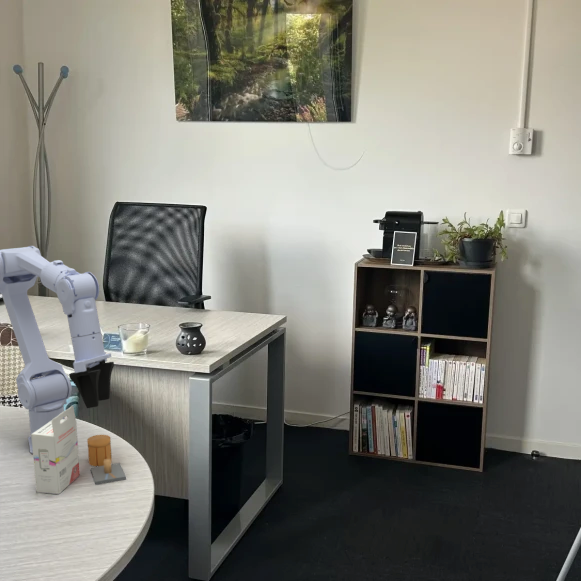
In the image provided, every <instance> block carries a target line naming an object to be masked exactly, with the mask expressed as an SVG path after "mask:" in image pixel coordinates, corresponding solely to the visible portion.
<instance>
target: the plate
mask: <svg viewBox="0 0 581 581" xmlns="http://www.w3.org/2000/svg"><path fill="white" fill-rule="evenodd" d="M111 459H112V458H111ZM111 459H104V465H103V466H97V467H96V466H92V467H90V473H91V475H92V478H93V482H94V484H95V485H102V484H107V483H114V482H119V481H124V480H125V481H126V480H127V476H126V474H125V471H124V469H123V466H122V465H121V463H120V462H116V463H112V461H111Z"/></svg>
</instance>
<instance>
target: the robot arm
mask: <svg viewBox="0 0 581 581" xmlns="http://www.w3.org/2000/svg"><path fill="white" fill-rule="evenodd" d="M38 278H39V279H40V283H41V285H43V286H44V287H46V288H47V289H49V290H50V291H52V292H53V293H55V294H56V296H57V299H58V301H59V302H60V304H61V306H62V312H63V313H64V315H66V317H67V322H68V329H69V333H70V337H71V338H70V339H71V344H72V350H73V356H74V361H73V362H72V366H73V370H74V371H73V372H71V373H69V374H68V375H67V373H66V372H65V370H64V367H63V365H62V364H61V363H59V362H56V361H54V360H52V359H50V357H49V356H48V353H47V349H46V346H45V344H44V340H43V338H42V335H41V331H40V329H39V325H38V322H37V319H36V316H35V313H34V310H33V307H32V305H31V304H32V303H31V301H30V299H29V296H28V290H29V289H31V288H33V287H34V286H35V284H36V281H37V279H38ZM0 294H1V296H2V300H3V303H4V305H5V309H6V312H7V314H8V318H9V321H10V324H11V327H12V330H13V333H14V336H15V339H16V342H17V344H18V345H17V346H18V348H19V352H20V354H21V357H22V360H23V363H24V367H23V368H22V370H21V371H20V373H18V375H17V376H16V380H15V382H16V386H17V395H18V399H19V402H20V404H21V405H22V406H23V408H25V409H26V410H28V416H29V417H28V419H29V431H30V432H29V433H30V434H29V436H28V437H27V440H28V441H27V442H28V446H29V453H30V454H32V455H33V448H32V437H31V434H32V433H34V432H35V431H37V430H38V429H40V428H41V427H43V426H44V425H46V424H47V423H49V422H50V421H51V420H52V419H54V418H55V417H57V416H58V415H59V414H61V413H62V412H64V411H65V407H64V405H67V402H68V400H69V398H70V397H71V394H72V391H73V390H72V389H73V388H72V383H73V384H74V385H75V387H76V388H77V390H78V391H79V394H80V396H81V398H82V400H83V404H84V405H85V407H86V409H92V408H96V407H99V402H100V401H106V400H110V396H111V380H112V379H111V378H112V373H113V369H114V366H115V363H114V362H115V361H109V362H108V359H109V358H111V357H112V353H107V352H105V347H104V342H103V336H102V331H101V326H100V325H101V324H100V318H99V313H98V308H97V302H96V300H97V299H98V298H99V295H100V285H99V281H98V279H97V277H96V275H94V274H93V273H92V272H91V271H86V272H83V273H80V272H78V271H76V269H74V267H73V268H71V267H69V266H68V265H66V264H64V261H62V260H61V259H60V260H59V259H57V260H53V261H48V260H47V259H46V258H45V257H44V256H42V254H41V251H40V249H39V248H38V247H36V246H35V245H28V246H24V247H15V248H14V247H13V248H3V249H0ZM71 381H72V382H71ZM62 419H65V417H64V416H63V418H62Z"/></svg>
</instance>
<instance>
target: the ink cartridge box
mask: <svg viewBox="0 0 581 581" xmlns="http://www.w3.org/2000/svg"><path fill="white" fill-rule="evenodd" d="M74 407H75V406H73V405H71V406H70V407H69V408H67V409H64V412H62V413H61V414H59V415H58V416H57V417H55V418H54V419H52V420H51V421H50V422H49V423H47V424H46V425H44V426H43V427H41V428H40V429H38V430H37V431H35V432H34V433H32V434H30V436H31V437H32V448H33V454H32V458H33V467H34V468H33V470H34V478H35V480H34V481H35V489H36V490H35V492H36V493H43V494H51V495H52V494H53V495H59V494H61V493H62V492H63V491H64V490H66V488H68V486H70V485H71V484H72V483H73V482H74V481H75V480H76V479H77V478H78V477H79V476H80V459H79V458H80V456H79V445H78V428H77V419H76V415H75V414H76V413H75V408H74ZM63 416H64V419H62V418H63ZM66 417H67V418H66ZM65 418H66V419H65Z"/></svg>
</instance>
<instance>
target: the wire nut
mask: <svg viewBox="0 0 581 581" xmlns="http://www.w3.org/2000/svg"><path fill="white" fill-rule="evenodd" d="M86 440H87V441H86V442H87V454H88V464H89V465H90V466H92V467H96V466H103V465H104V459H111V462H112V445H111V444H112V442H111V436H110V435H108V434H95V435H91V436H89V437H88V438H87V439H86Z"/></svg>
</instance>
